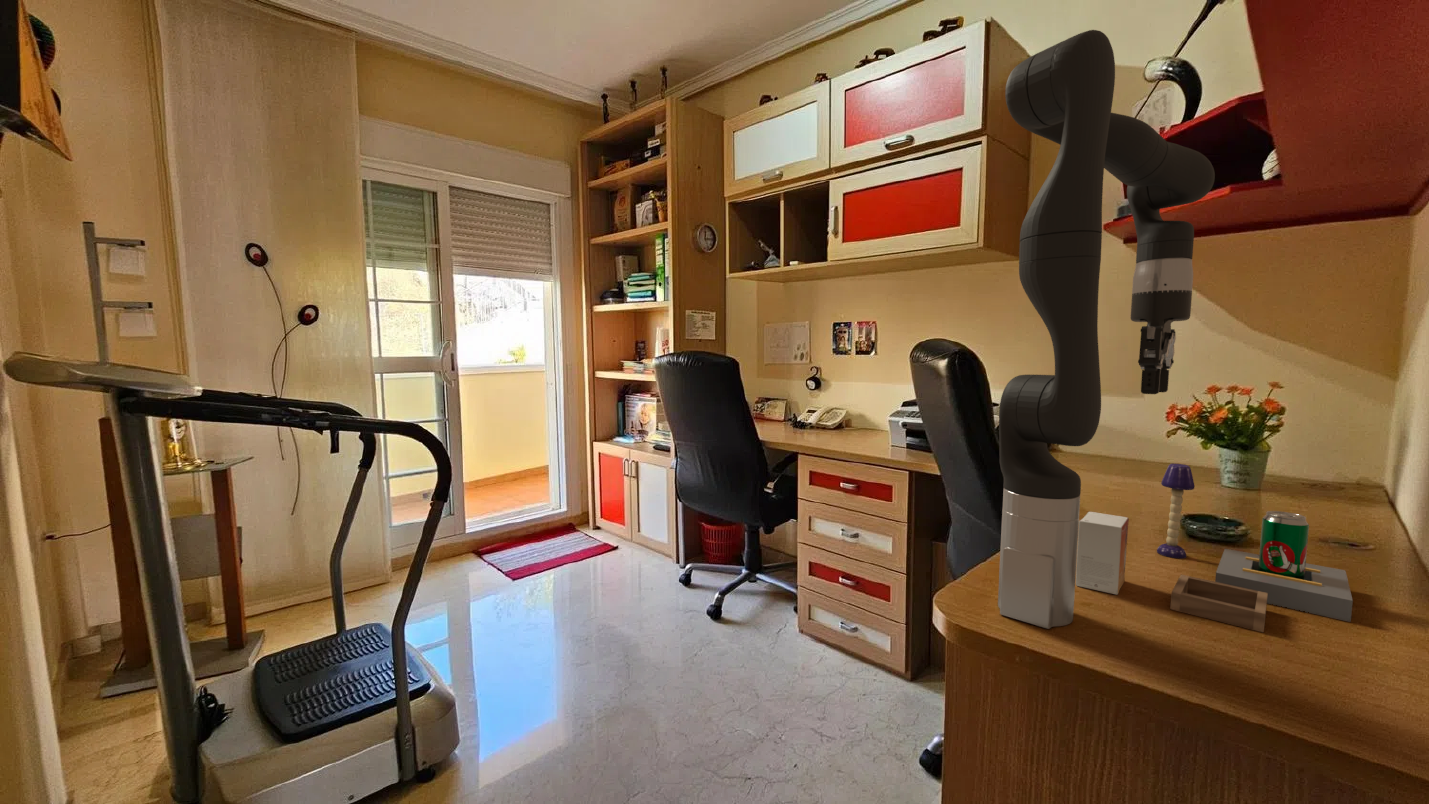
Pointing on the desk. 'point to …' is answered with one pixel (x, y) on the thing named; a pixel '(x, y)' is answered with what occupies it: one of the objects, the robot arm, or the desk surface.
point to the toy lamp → (1175, 507)
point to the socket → (1290, 585)
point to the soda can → (1283, 544)
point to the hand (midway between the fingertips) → (1154, 393)
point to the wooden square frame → (1220, 602)
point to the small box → (1102, 552)
